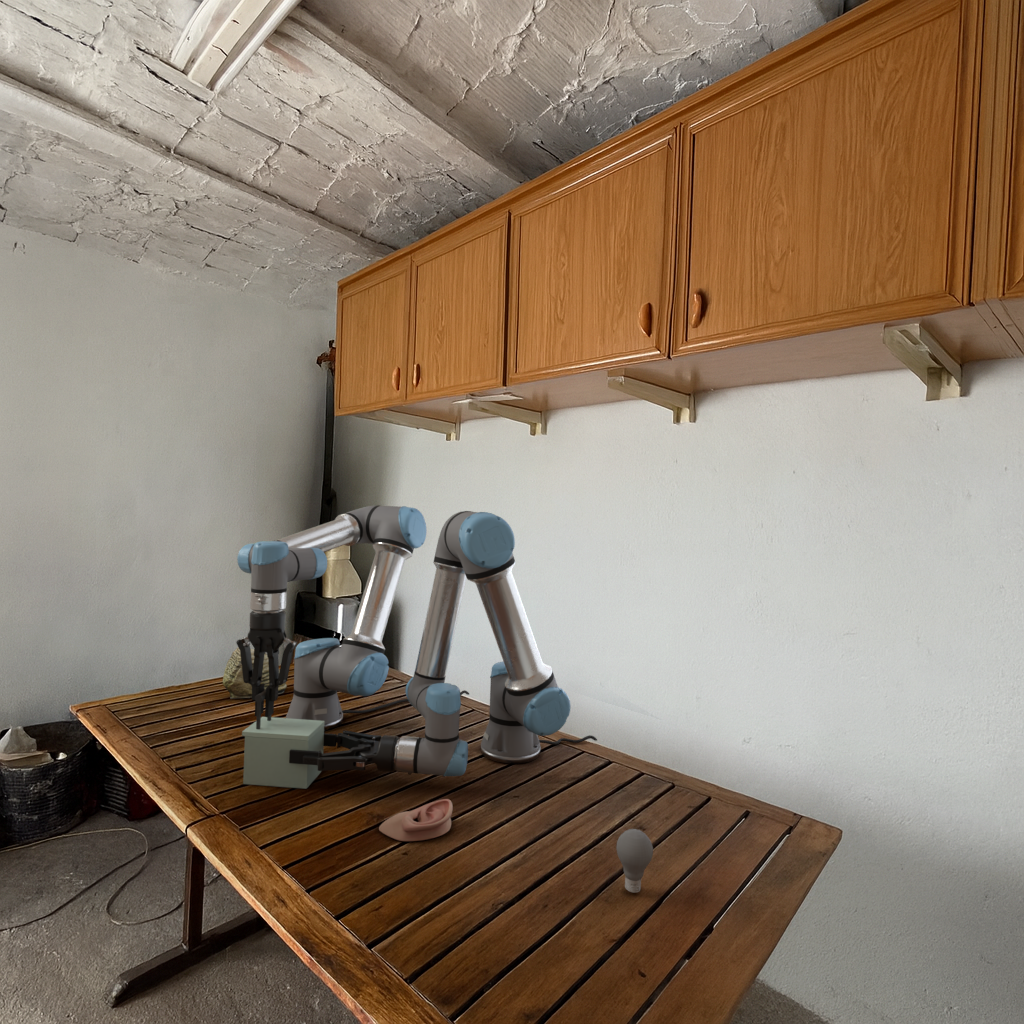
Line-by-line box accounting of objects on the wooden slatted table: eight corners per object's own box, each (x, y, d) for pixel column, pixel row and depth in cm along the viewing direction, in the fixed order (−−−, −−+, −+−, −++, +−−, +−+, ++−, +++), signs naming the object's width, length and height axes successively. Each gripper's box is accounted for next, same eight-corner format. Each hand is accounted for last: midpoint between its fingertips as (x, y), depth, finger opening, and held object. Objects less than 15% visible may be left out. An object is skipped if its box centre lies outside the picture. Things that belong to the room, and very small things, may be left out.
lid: (241, 736, 138) (243, 696, 138) (262, 721, 147) (263, 683, 147) (308, 740, 137) (309, 700, 137) (324, 725, 146) (325, 687, 146)
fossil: (218, 695, 195) (220, 647, 195) (278, 685, 208) (279, 640, 207) (228, 703, 189) (230, 653, 188) (289, 692, 201) (290, 645, 201)
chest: (243, 784, 138) (244, 736, 138) (263, 765, 148) (264, 721, 147) (306, 788, 137) (308, 740, 137) (322, 770, 147) (324, 725, 146)
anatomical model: (372, 815, 119) (396, 788, 130) (371, 836, 119) (395, 808, 130) (440, 826, 116) (458, 797, 127) (439, 847, 116) (457, 817, 127)
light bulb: (610, 879, 108) (613, 822, 108) (644, 879, 109) (647, 822, 109) (619, 902, 102) (622, 840, 102) (655, 901, 103) (658, 840, 103)
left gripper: (227, 611, 139) (223, 718, 139) (293, 615, 138) (289, 722, 138) (244, 605, 146) (240, 707, 147) (306, 609, 145) (302, 711, 146)
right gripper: (383, 793, 129) (277, 785, 131) (408, 751, 152) (317, 744, 153) (385, 757, 129) (278, 749, 131) (409, 720, 152) (318, 713, 153)
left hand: (264, 714), depth 142 cm, fingers closed on lid, 2 cm apart
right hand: (299, 747), depth 142 cm, fingers closed on chest, 10 cm apart
